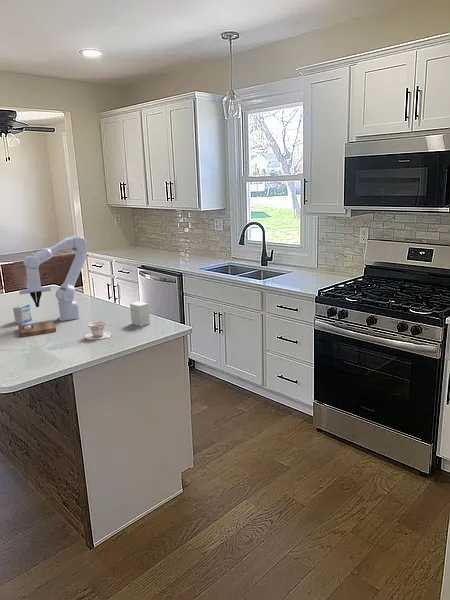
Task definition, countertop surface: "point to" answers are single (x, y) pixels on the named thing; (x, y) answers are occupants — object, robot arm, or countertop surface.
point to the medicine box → (22, 314)
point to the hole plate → (37, 328)
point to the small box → (139, 313)
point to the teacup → (97, 331)
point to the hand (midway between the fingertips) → (37, 306)
